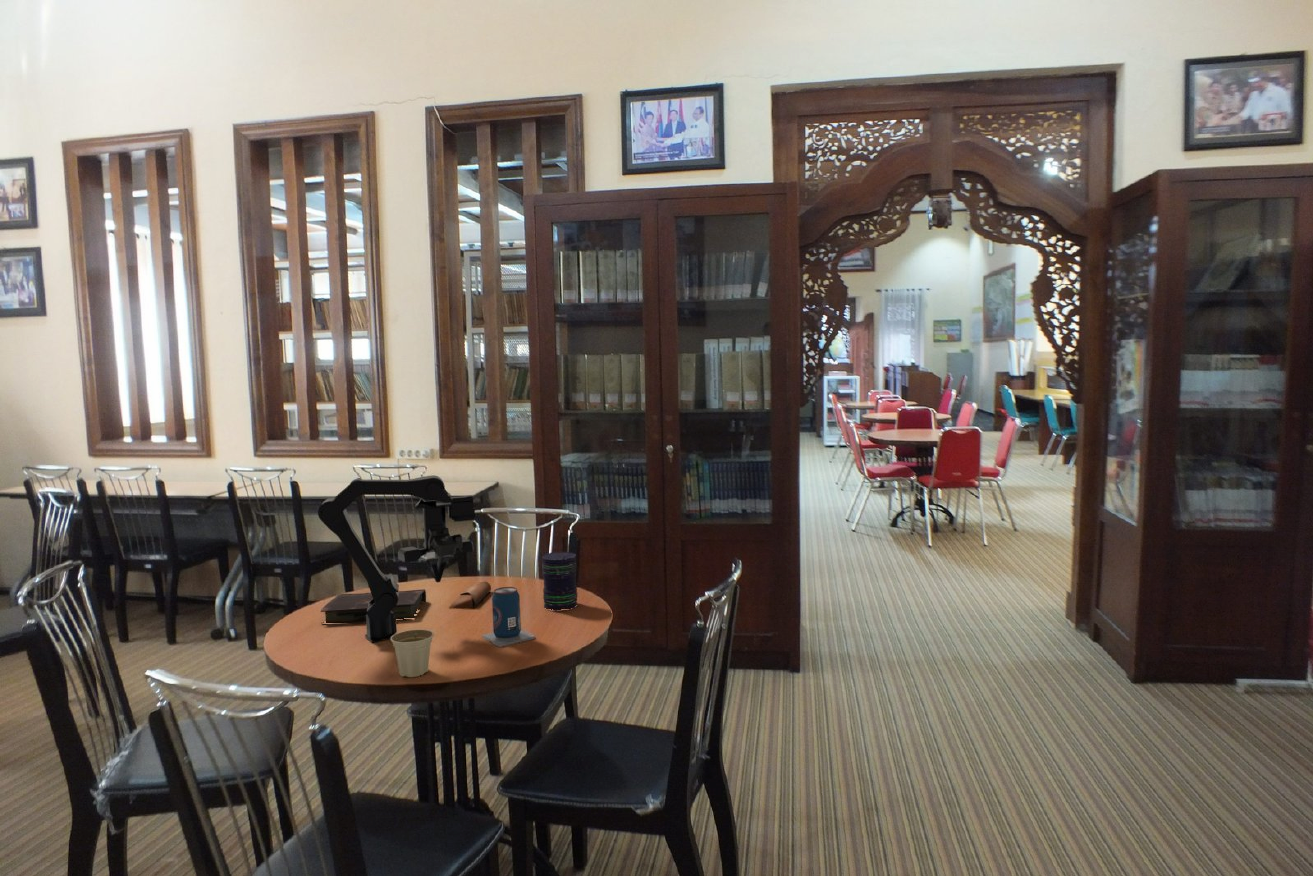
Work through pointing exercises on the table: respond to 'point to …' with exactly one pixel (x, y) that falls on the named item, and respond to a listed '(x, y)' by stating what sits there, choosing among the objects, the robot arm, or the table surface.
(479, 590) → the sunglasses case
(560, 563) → the storage jar
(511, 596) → the soda can
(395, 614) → the diary
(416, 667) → the flower pot
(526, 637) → the coaster
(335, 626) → the table surface
